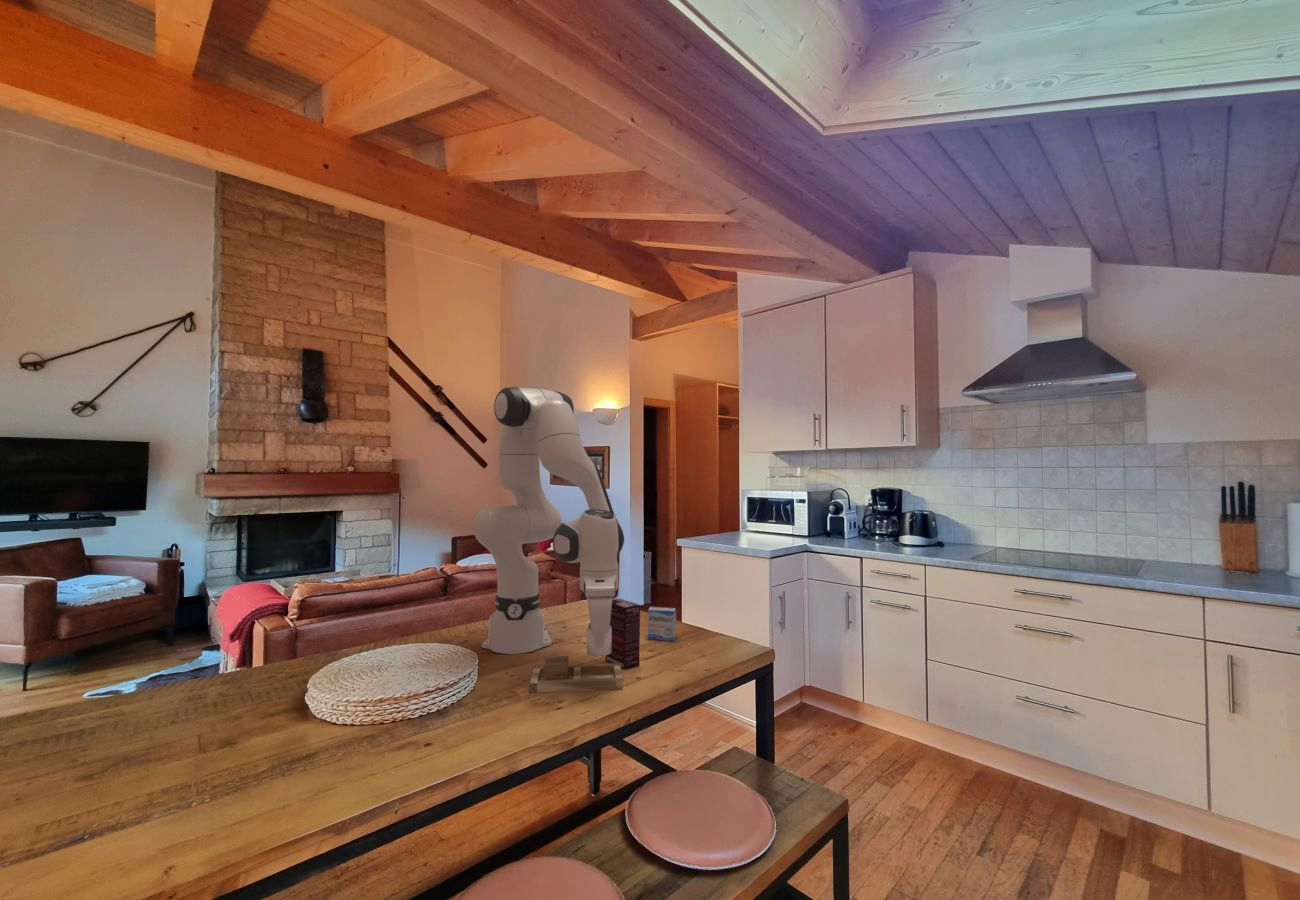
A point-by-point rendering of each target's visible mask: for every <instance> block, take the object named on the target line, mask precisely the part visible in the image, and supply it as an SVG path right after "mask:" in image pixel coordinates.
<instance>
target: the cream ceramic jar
mask: <svg viewBox="0 0 1300 900" xmlns="http://www.w3.org/2000/svg"><path fill="white" fill-rule="evenodd" d="M611 652H612V627H611V626H610V627H609V631H608V633H605V634H604V647H603V648H596V647H595V634H593V633H592V631H591V624H590V622H589V623H588V626H587V627H586V654H587V655H589V656H592V657H606V655H609V654H610V653H611Z"/></svg>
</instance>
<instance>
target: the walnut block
mask: <svg viewBox="0 0 1300 900" xmlns="http://www.w3.org/2000/svg"><path fill="white" fill-rule="evenodd" d="M568 665H569V655H562V656H561V655H560V656H559V655H557V656H556V655H555V656H553V655H552V656H546V657H545V662H544V666H545V678H544V680H565V679H568Z"/></svg>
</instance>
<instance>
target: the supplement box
mask: <svg viewBox="0 0 1300 900" xmlns="http://www.w3.org/2000/svg"><path fill="white" fill-rule="evenodd" d="M610 626H611V627H612V652H611V653H610V654H609V655H605V661H606V662H607V663H609V664H616V663H620V667H621V670H624V671H626V670H630V669H633V668H638V667H640V646H641V645H640V644H641V643H640V639H641V638H640V633H641V632H640V631H641V629H640V627H641V605H640V604H638V603H635V602H632V601H629V600H626V599H622V598H615V599H612V608H611V619H610Z"/></svg>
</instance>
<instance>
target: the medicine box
mask: <svg viewBox="0 0 1300 900" xmlns="http://www.w3.org/2000/svg"><path fill="white" fill-rule="evenodd" d="M676 636H677V608H676V607H660V606H650V607H649V608H648V610H647V640H648V641H659V642H660V641H661V642H663V641H664V642H675V639H676V638H677V637H676Z"/></svg>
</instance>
